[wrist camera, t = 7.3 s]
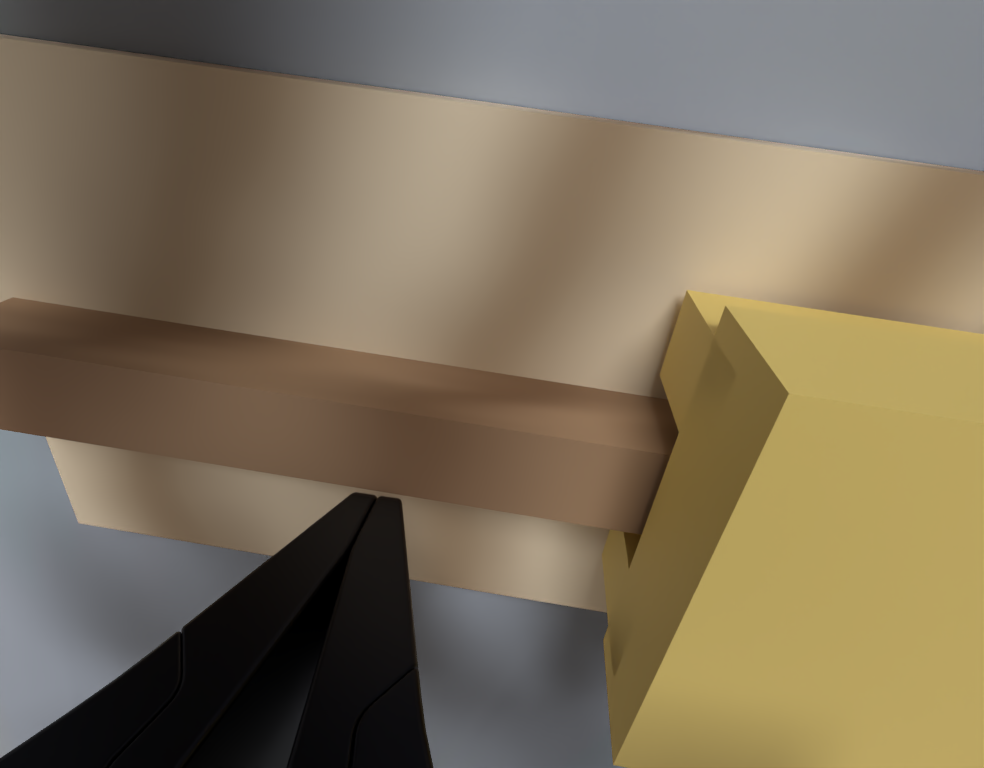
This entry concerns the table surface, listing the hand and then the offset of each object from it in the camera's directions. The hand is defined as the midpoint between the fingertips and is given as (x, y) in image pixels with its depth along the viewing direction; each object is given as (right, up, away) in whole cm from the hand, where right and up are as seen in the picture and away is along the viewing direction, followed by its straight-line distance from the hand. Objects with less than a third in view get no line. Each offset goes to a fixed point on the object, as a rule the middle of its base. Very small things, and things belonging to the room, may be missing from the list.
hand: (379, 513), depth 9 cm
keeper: (+8, 0, +2) cm, 8 cm away
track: (+2, +2, +4) cm, 5 cm away
